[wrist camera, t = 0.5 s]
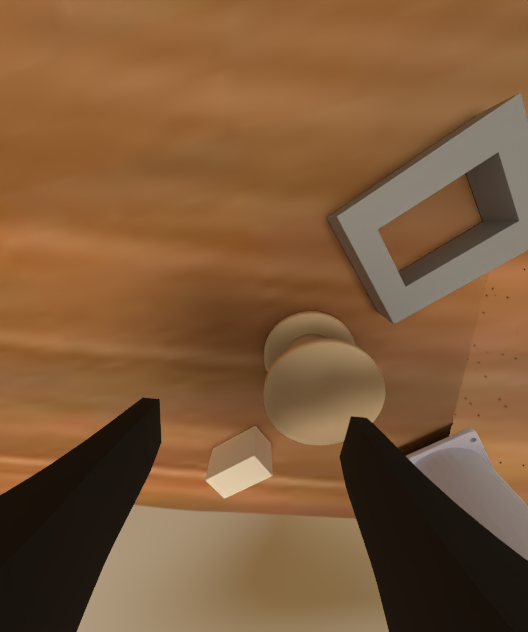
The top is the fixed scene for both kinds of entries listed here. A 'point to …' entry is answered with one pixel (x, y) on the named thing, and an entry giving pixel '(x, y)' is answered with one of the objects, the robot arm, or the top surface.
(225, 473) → the rectangular block
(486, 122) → the board with rectangular hole
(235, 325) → the top surface
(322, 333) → the bobbin
